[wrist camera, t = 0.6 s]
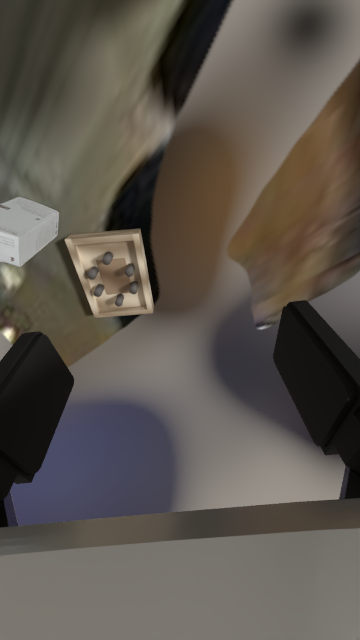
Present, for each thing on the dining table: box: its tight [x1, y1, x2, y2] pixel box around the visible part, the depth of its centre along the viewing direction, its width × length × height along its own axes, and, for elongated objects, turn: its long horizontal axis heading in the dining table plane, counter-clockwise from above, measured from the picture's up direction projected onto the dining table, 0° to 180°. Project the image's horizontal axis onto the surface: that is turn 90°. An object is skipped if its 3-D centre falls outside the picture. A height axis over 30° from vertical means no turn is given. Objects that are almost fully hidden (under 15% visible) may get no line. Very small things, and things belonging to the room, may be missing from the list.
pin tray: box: [65, 229, 154, 318], centre depth 42 cm, size 16×12×4 cm
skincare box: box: [0, 197, 59, 267], centre depth 32 cm, size 6×4×12 cm
